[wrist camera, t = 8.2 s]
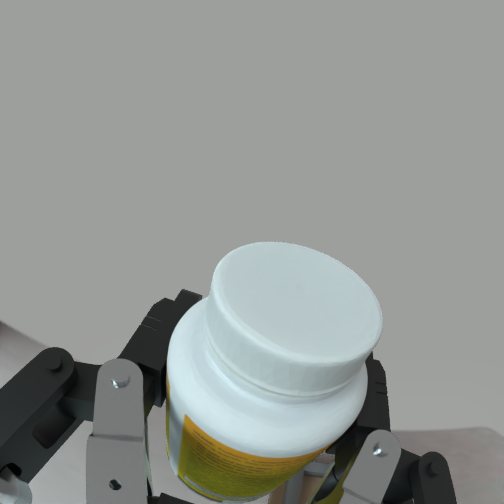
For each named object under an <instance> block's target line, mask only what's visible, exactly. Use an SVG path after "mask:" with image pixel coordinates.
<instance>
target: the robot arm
mask: <svg viewBox="0 0 504 504" xmlns="http://www.w3.org/2000/svg"><path fill="white" fill-rule="evenodd" d="M201 300H202V295H200V294H197V293H194V292H191V291H188V290H185V289H182V290H181V291H180V293H179V295H178V296H177V298H176V299H175V301H173V300H170V299H167V298H164V299H162V300H161V301H159V302H157V303H156V304H154V305H153V306H152V308H151V309H150V311H149V312H148V314H147V316H146V317H145V318H144V320H143V321H142V323H141V325H139V327H138V328H137V330H136V331H135V333H134V335H133V336H132V338H131V339H130V340H129V342H128V344H127V345H126V347H125V348H124V350H123V351H122V353H121V354H120V355H119V357H117V358H116V359H112V360H110V361H107V362H106V363H104V364H103V365H93V364H87V363H81V362H75V361H74V360H73V358H72V356H71V354H70V353H69V352H67V351H66V350H64V349H62V348H58V347H52V348H48V349H45V350H43V351H42V352H40V353H39V354H38V355H37V356H36V357H35V358H34V359H33V360H31V361H30V362H29V363H28V364H27V365H26V366H25V367H24V368H23V369H21V370H20V371H19V372H18V373H17V374H16V375H15V376H14V377H13V378H12V379H11V380H10V381H8V382H7V383H6V384H5V385H4V386H3V387H2V388H1V389H0V504H31V503H32V493H31V490H30V487H29V486H28V483H29V482H30V481H31V480H32V479H33V478H34V477H35V475H36V474H37V473H38V472H39V471H40V470H41V469H42V467H43V466H44V465H45V464H46V463H47V462H48V461H49V459H50V458H51V457H52V456H53V455H54V454H55V453H56V451H57V450H58V449H59V448H60V447H61V446H62V445H63V444H64V442H65V441H66V440H67V439H68V438H69V437H70V436H71V435H72V433H73V432H74V431H75V430H76V429H77V428H78V427H79V426H80V424H81V423H82V422H83V421H84V420H86V421H92V422H93V431H92V434H91V435H89V437H88V441H87V454H86V499H87V504H193V503H190V502H187V501H184V500H181V499H178V498H175V497H172V496H169V495H167V494H164V493H161V494H160V497H157V496H153V488H152V478H151V470H150V460H149V444H148V421H147V417H148V415H149V413H150V410H151V408H152V406H153V405H155V406H158V407H160V408H161V407H162V405H163V403H164V400H165V398H166V375H167V356H168V349H169V343H170V339H171V336H172V334H173V332H174V329H175V327H176V326H177V324H178V322H179V321H180V319H181V318H182V317H183V316H184V314H185V313H186V312H187V311H188V310H189V309H190V308H191V307H192V306H193V305H195V304H196V303H197V302H199V301H201ZM365 364H366V368H367V376H368V382H367V393H366V397H365V401H364V404H363V406H362V409H361V411H360V413H359V414H358V416H357V418H356V419H355V421H354V422H353V423H352V425H351V426H350V427H349V428H348V429H347V430H346V431H345V432H344V433H343V434H342V435H341V436H340V437H339V438H338V439H337V440H336V441H335V442H334V443H332V444H331V445H330V446H329V447H328V448H327V449H326V452H325V453H329V454H335V462H333V463H332V464H331V465H330V467H329V468H328V470H327V472H326V473H325V475H324V476H323V478H322V480H321V481H320V483H319V484H318V486H317V487H316V489H315V491H314V492H313V494H312V495H311V497H310V498H309V500H308V501H307V502H306V504H413V498H414V504H457V502H456V497H455V492H454V488H453V484H452V479H451V475H450V471H449V467H448V464H447V461H446V459H445V458H444V457H443V456H442V455H441V454H439V453H437V452H428V453H426V454H424V455H423V456H421V457H420V456H418V455H416V454H413V453H411V452H408V451H406V450H404V449H402V448H401V445H400V442H399V440H398V439H397V437H396V436H395V435H394V434H392V433H391V431H390V418H389V406H388V396H387V386H386V376H385V371H384V369H383V367H382V365H381V363H380V361H378V360H374V359H373V352H371V353H370V354H369V356H368V357H367V359H366V360H365Z"/></svg>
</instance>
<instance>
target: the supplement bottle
mask: <svg viewBox="0 0 504 504" xmlns="http://www.w3.org/2000/svg"><path fill="white" fill-rule="evenodd" d="M382 329H383V315H382V311H381V307H380V304H379V302H378V301H377V299H376V296H375V295H374V293H373V292H372V290H371V289H370V287H369V286H368V285H367V284H366V283H365V282H364V281H363V280H362V279H361V278H360V277H359V276H358V275H357V274H356V273H355V272H354V271H352V270H351V269H350V268H348V267H347V266H345V265H344V264H343V263H341V262H339V261H338V260H336V259H334V258H332V257H330V256H328V255H326V254H324V253H322V252H319V251H316V250H314V249H311V248H308V247H304V246H301V245H296V244H291V243H284V242H258V243H252V244H248V245H244V246H241V247H239V248H237V249H235V250H233V251H231V252H230V253H228V254H227V255H226V256H225V257H224V258H223V259H222V260H221V261H220V262H219V264H218V265H217V267H216V269H215V271H214V274H213V279H212V283H211V288H210V293H209V296H208V297H206V298H204V299H202V300H201V301H199V302H197V303H196V304H195V305H193V306H192V307H191V308H190V309H189V310H188V311H187V312H186V313H185V314H184V316H183V317H182V318H181V319H180V321H179V322H178V324H177V326H176V327H175V329H174V332H173V334H172V336H171V339H170V343H169V349H168V356H167V375H166V443H167V454H168V458H169V462H170V464H171V467H172V469H173V471H174V473H175V474H176V476H177V477H178V479H179V480H180V481H181V482H182V483H183V484H184V485H185V486H186V487H187V488H188V489H190V490H191V491H192V492H194V493H195V494H197V495H199V496H201V497H203V498H205V499H208V500H210V501H213V502H218V503H224V504H241V503H247V502H251V501H254V500H257V499H259V498H261V497H263V496H265V495H267V494H269V493H270V492H272V491H273V490H274V489H276V488H277V487H279V486H280V485H281V484H283V483H284V482H286V481H287V480H288V479H290V478H291V477H292V476H294V475H295V474H296V473H298V472H299V471H300V470H301V469H303V468H304V467H305V466H306V465H308V464H309V463H310V462H311V461H313V460H314V459H315V458H316V457H317V456H319V455H320V454H321V453H322V452H323V451H325V450H326V449H327V448H328V447H329V446H330V445H331V444H332V443H334V442H335V441H336V440H337V439H338V438H339V437H340V436H341V435H342V434H343V433H344V432H345V431H346V430H347V429H348V428H349V427H350V426H351V425H352V423H353V422H354V421H355V419H356V418H357V416H358V414H359V413H360V411H361V409H362V406H363V404H364V401H365V397H366V393H367V382H368V376H367V368H366V364H365V360H366V359H367V357H368V356H369V354H370V353H371V352H372V350H373V349H374V347H375V346H376V345H377V343H378V341H379V339H380V336H381V333H382Z"/></svg>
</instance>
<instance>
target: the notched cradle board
mask: <svg viewBox="0 0 504 504" xmlns="http://www.w3.org/2000/svg"><path fill="white" fill-rule="evenodd" d="M330 465H331V464H326V463H318V462H310V463H309V464H308V465H306V466H305V467H304V468H303V469H301V470H300V471H299V472H298V473H296V474H295V475H294V476H292V477H291V478H290V479H288V480H287V481H286V482H284V483H283V484H281V485H280V486H279V487H277V488H276V489H274V490H273V491H272V492H270V495H269V500H268V504H306V502H307V501H308V500H309V498H310V497H311V495H312V494H313V492H314V491H315V489H316V487H317V486H318V484H319V483H320V481H321V480H322V478H323V476H324V475H325V473H326V472H327V470H328V468H329V467H330Z"/></svg>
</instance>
